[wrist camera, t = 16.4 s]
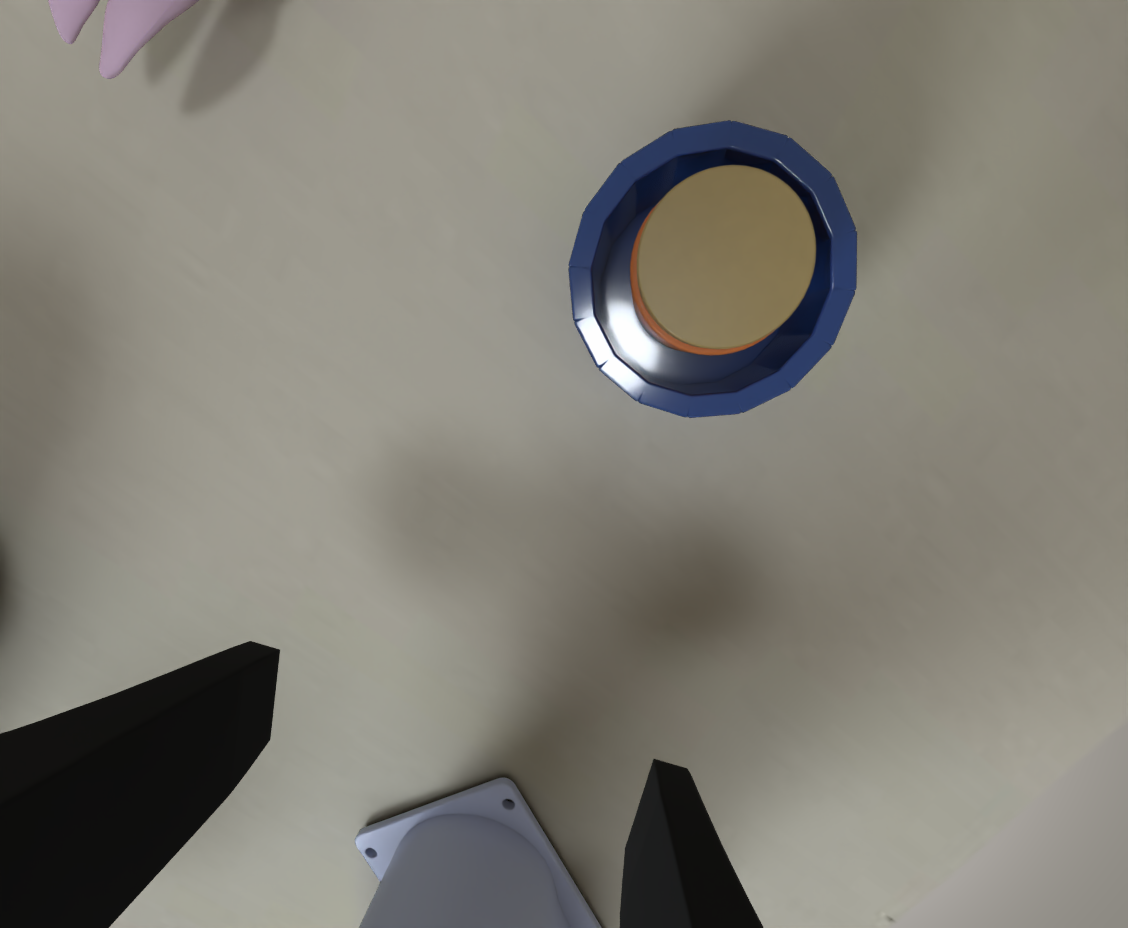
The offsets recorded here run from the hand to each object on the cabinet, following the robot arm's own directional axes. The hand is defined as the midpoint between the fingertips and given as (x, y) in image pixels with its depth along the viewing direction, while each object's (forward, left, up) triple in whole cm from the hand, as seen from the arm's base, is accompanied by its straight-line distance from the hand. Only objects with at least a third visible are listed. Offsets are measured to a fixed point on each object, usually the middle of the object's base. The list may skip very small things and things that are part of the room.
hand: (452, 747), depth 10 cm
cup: (+6, -8, -10) cm, 14 cm away
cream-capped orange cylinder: (+6, -9, -10) cm, 14 cm away
